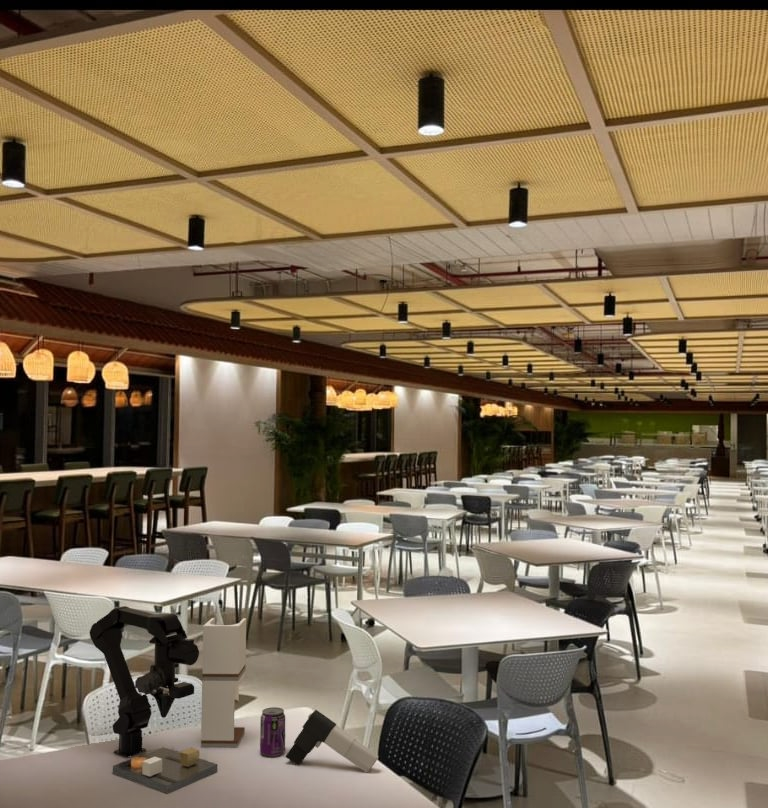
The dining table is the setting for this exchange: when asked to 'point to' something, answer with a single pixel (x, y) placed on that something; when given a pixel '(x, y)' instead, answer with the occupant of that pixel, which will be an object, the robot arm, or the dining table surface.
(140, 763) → the orange push button
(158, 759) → the beige block
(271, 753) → the beverage can
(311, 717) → the handheld device
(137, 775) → the plate
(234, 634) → the beige tower stand
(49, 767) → the dining table surface
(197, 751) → the tan block
